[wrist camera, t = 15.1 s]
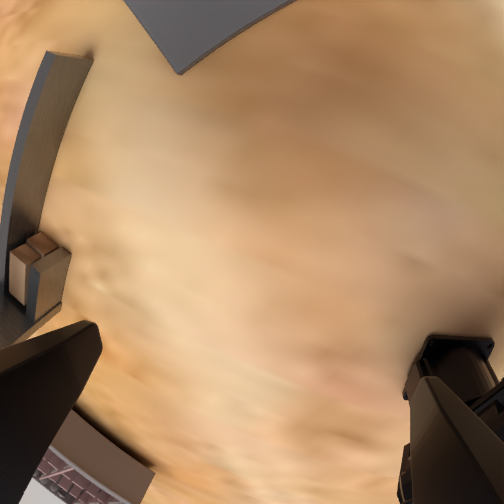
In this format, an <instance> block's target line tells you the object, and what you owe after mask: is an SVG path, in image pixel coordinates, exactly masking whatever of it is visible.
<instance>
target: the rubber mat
mask: <svg viewBox="0 0 504 504" xmlns="http://www.w3.org/2000/svg"><path fill="white" fill-rule="evenodd" d="M294 1H296V0H124V2H125V3H126V4H127V6H128V7H129V8H130V10H131V11H132V12H133V14H134V15H135V16H136V18H137V19H138V21H139V22H140V23H141V25H142V26H143V27H144V29H145V30H146V31H147V33H148V34H149V36H150V37H151V38H152V40H153V41H154V43H155V44H156V45H157V47H158V48H159V49H160V51H161V52H162V54H163V55H164V56H165V58H166V59H167V61H168V62H169V63H170V65H171V66H172V68H173V69H174V71H175V72H176V73H177V74H179V75H182V74H183V73H184V72H186V71H187V70H188V69H190V68H191V67H192V66H194V65H195V64H196V63H198V62H199V61H200V60H202V59H203V58H204V57H206V56H207V55H209V54H210V53H211V52H213V51H214V50H216V49H217V48H219V47H220V46H221V45H223V44H224V43H226V42H227V41H229V40H230V39H232V38H233V37H235V36H236V35H238V34H240V33H241V32H243V31H244V30H246V29H247V28H249V27H251V26H252V25H254V24H255V23H257V22H259V21H260V20H262V19H264V18H265V17H267V16H269V15H271V14H272V13H274V12H276V11H278V10H279V9H281V8H283V7H285V6H287V5H289V4H290V3H292V2H294Z"/></svg>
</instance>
